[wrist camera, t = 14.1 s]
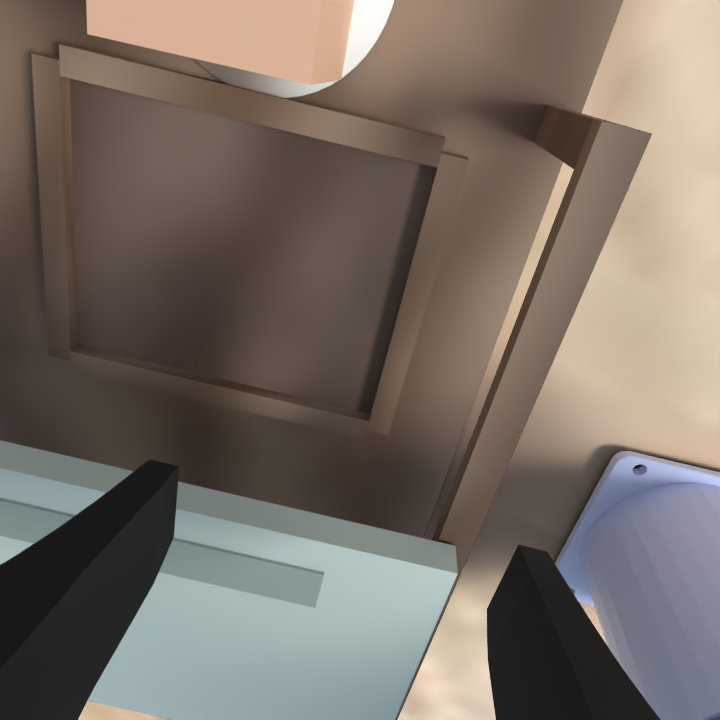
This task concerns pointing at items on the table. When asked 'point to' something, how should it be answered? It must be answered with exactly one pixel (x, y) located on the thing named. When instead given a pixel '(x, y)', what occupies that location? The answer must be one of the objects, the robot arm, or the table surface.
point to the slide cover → (250, 601)
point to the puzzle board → (301, 251)
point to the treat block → (236, 32)
